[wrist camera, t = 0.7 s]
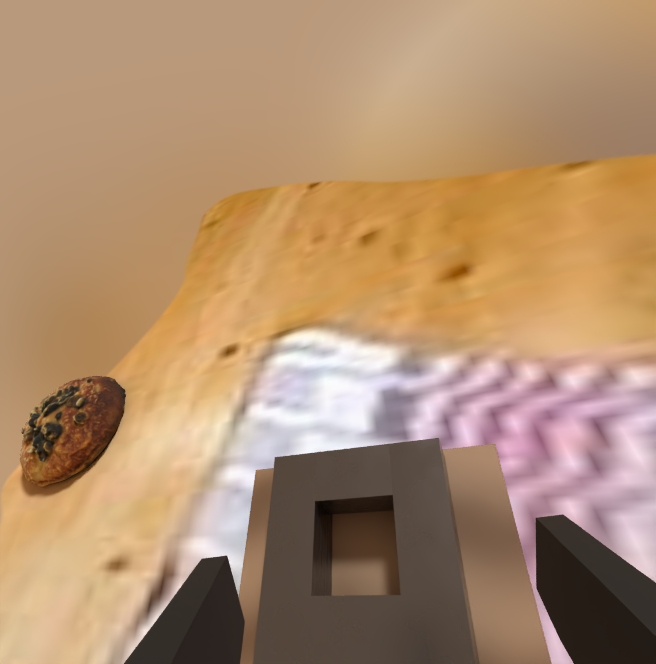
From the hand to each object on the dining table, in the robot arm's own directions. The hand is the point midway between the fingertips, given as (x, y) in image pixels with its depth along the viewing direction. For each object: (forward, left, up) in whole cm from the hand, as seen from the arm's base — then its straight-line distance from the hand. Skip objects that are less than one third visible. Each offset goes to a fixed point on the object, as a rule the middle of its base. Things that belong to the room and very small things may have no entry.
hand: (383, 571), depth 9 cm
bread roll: (+15, +33, -15) cm, 39 cm away
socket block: (+3, +4, -15) cm, 16 cm away
